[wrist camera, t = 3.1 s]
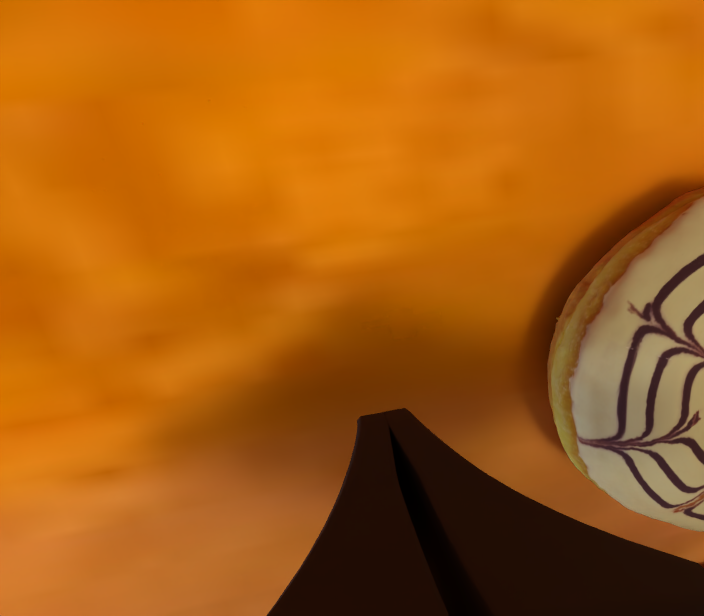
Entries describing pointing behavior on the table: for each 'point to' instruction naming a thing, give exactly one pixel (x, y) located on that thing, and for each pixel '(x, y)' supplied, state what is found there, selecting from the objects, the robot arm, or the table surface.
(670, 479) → the decorated donut
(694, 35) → the table surface
